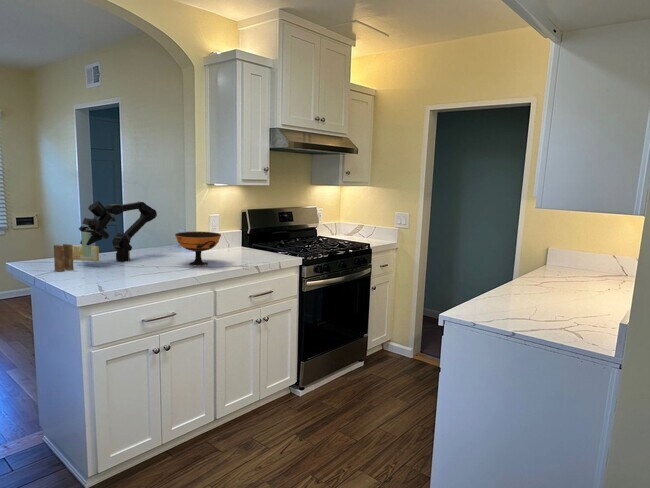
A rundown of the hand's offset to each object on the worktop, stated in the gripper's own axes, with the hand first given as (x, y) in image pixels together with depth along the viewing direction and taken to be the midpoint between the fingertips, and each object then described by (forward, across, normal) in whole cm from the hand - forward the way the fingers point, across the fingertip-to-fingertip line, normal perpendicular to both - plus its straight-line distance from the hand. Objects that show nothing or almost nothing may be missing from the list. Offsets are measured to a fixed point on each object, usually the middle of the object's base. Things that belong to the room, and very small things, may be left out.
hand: (83, 244), depth 241 cm
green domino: (+4, 0, +6) cm, 7 cm away
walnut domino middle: (+15, 0, +2) cm, 15 cm away
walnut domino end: (+18, 0, -1) cm, 18 cm away
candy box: (+1, -17, +17) cm, 24 cm away
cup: (-22, +39, +40) cm, 60 cm away
